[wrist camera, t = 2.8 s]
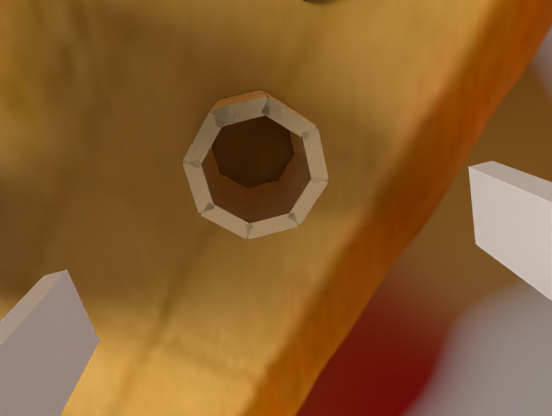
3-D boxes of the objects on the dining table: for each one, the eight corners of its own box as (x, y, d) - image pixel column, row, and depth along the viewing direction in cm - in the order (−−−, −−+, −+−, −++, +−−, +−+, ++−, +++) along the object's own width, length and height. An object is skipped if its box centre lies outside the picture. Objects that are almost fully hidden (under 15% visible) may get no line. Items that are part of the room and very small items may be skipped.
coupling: (216, 208, 33) (210, 249, 26) (186, 108, 31) (168, 121, 23) (314, 183, 33) (336, 216, 26) (291, 81, 31) (309, 85, 23)
